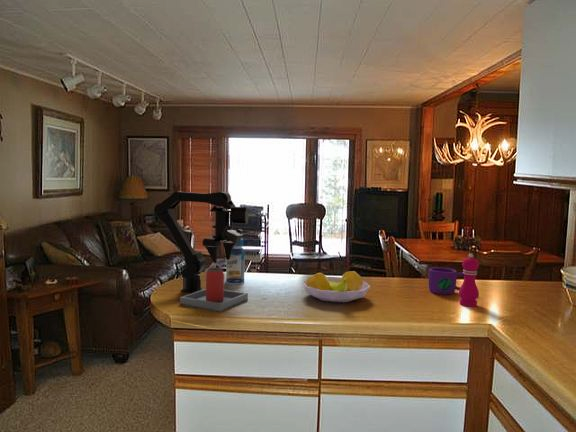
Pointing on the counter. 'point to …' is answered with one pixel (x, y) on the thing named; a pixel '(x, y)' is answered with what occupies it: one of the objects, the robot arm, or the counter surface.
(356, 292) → the fruit bowl
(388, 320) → the counter surface
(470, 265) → the pepper mill
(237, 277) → the beverage bottle
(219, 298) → the beer can
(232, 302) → the tray
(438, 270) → the mug
